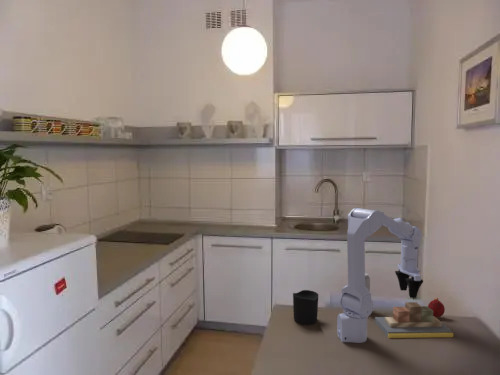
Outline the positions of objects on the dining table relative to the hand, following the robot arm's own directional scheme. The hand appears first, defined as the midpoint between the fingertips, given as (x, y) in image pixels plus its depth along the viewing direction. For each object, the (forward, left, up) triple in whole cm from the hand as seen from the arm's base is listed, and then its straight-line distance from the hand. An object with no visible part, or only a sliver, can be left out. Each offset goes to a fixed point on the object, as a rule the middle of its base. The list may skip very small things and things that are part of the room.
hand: (408, 293), depth 139 cm
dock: (-2, -8, -10) cm, 13 cm away
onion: (+12, +2, -11) cm, 16 cm away
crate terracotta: (-6, -8, -6) cm, 12 cm away
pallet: (-2, -8, -8) cm, 11 cm away
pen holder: (-38, +2, -11) cm, 40 cm away
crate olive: (+2, -8, -6) cm, 11 cm away
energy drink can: (-14, +10, -11) cm, 20 cm away
